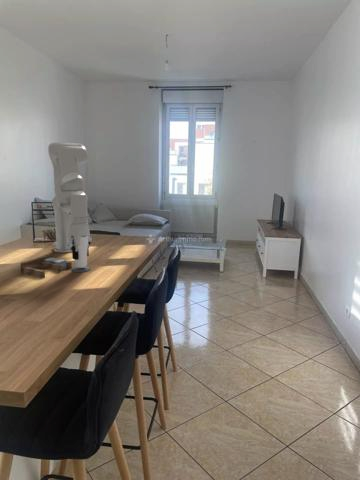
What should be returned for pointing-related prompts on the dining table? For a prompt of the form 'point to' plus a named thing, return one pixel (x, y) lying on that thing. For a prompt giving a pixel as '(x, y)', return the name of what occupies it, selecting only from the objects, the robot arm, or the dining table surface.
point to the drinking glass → (82, 253)
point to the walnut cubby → (44, 265)
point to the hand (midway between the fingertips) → (80, 257)
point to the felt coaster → (81, 269)
